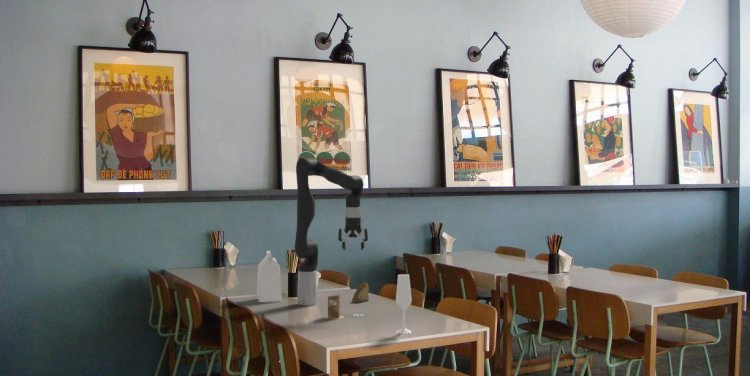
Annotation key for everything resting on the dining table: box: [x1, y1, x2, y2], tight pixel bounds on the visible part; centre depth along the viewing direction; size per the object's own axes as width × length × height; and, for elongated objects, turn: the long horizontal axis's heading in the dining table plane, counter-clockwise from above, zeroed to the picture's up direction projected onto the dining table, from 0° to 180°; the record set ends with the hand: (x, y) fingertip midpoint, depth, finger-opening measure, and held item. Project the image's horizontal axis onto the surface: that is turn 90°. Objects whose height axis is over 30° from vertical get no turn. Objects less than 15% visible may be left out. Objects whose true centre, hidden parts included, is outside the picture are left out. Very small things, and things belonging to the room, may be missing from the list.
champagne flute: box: [395, 273, 413, 335], centre depth 305 cm, size 7×7×24 cm
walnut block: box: [327, 294, 341, 318], centre depth 337 cm, size 5×5×10 cm
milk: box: [256, 250, 283, 303], centre depth 388 cm, size 12×12×26 cm
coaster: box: [323, 315, 344, 320], centre depth 337 cm, size 9×9×1 cm
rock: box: [351, 282, 370, 303], centre depth 384 cm, size 11×9×10 cm
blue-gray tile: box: [344, 312, 373, 319], centre depth 342 cm, size 12×12×1 cm
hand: (353, 249), depth 354 cm, fingers open, 8 cm apart
